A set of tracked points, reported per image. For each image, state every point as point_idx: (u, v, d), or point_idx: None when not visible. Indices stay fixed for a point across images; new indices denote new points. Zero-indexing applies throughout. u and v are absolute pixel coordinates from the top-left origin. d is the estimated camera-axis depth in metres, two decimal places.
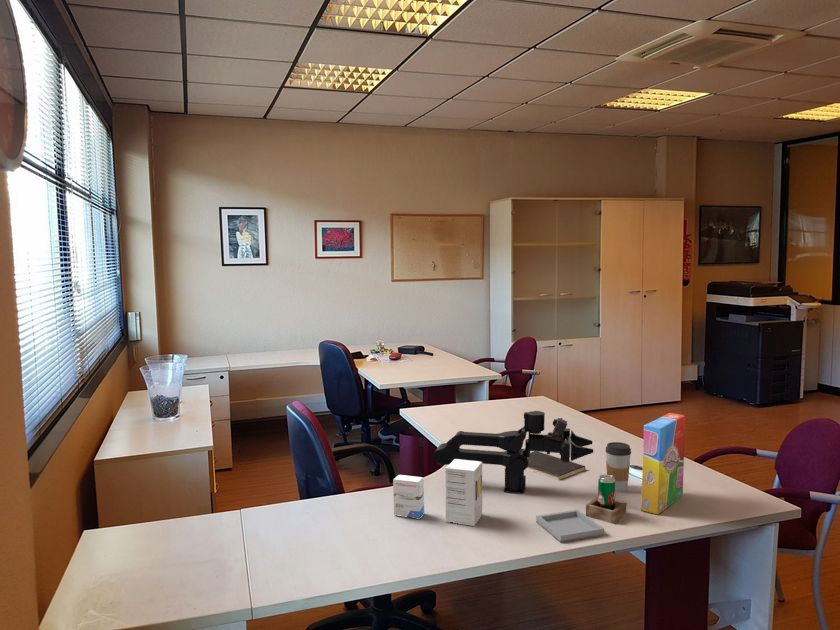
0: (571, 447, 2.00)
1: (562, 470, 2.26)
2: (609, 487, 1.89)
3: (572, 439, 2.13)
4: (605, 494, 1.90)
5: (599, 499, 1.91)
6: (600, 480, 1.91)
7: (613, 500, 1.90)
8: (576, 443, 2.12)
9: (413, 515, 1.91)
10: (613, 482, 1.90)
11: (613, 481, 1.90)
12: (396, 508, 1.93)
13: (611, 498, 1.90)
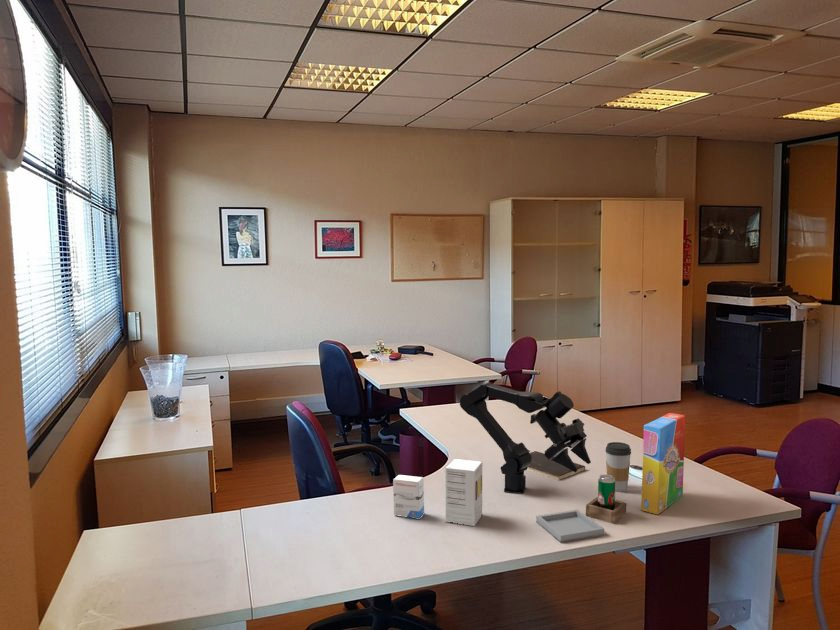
0: (560, 452, 1.92)
1: (561, 471, 2.26)
2: (609, 487, 1.89)
3: (578, 445, 2.02)
4: (605, 494, 1.90)
5: (599, 499, 1.91)
6: (600, 480, 1.91)
7: (613, 500, 1.90)
8: (577, 451, 2.02)
9: (413, 515, 1.91)
10: (613, 482, 1.90)
11: (613, 481, 1.90)
12: (396, 508, 1.93)
13: (611, 498, 1.90)
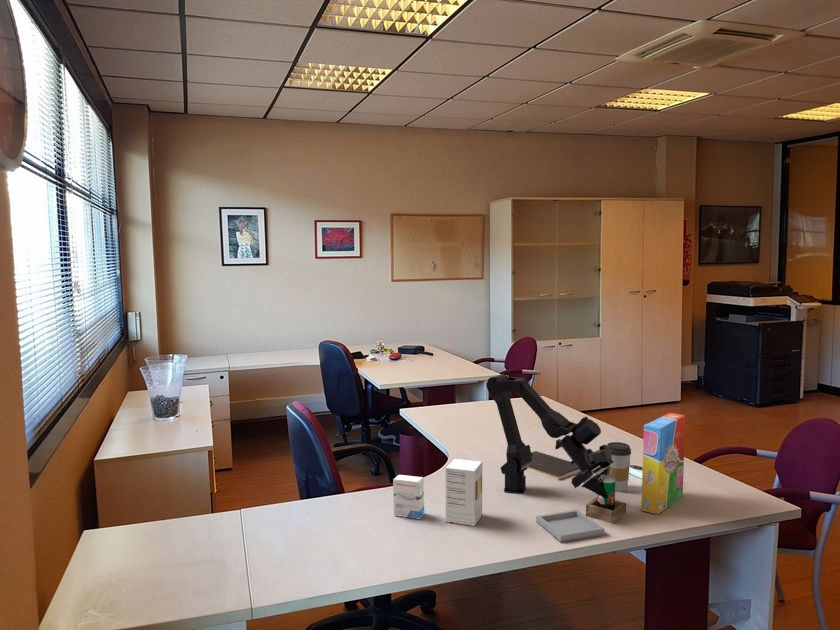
0: (591, 478, 1.88)
1: (561, 471, 2.26)
2: (609, 486, 1.89)
3: (602, 473, 1.96)
4: None
5: (599, 499, 1.91)
6: (600, 480, 1.91)
7: (613, 500, 1.90)
8: None
9: (413, 515, 1.91)
10: (613, 482, 1.90)
11: (613, 481, 1.90)
12: (396, 508, 1.93)
13: (611, 498, 1.90)
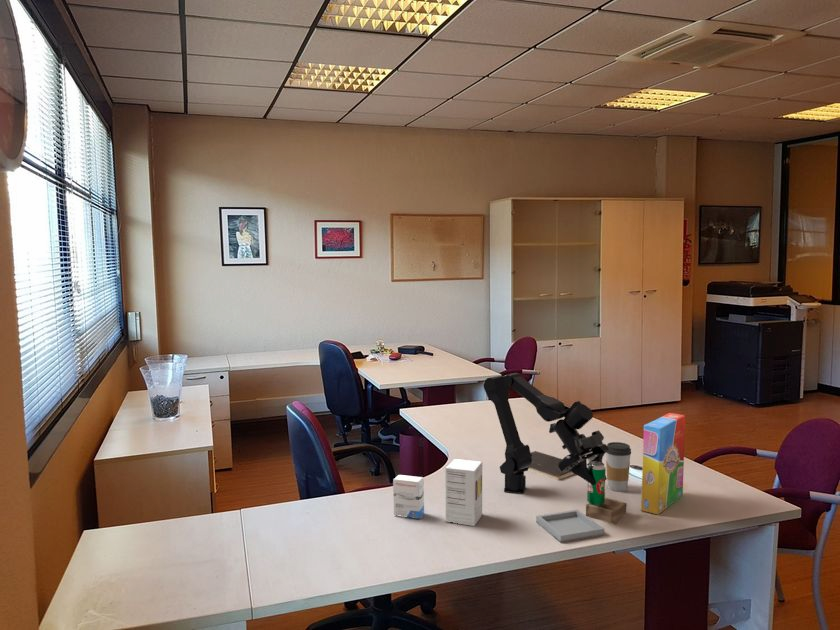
0: (577, 463, 1.85)
1: None
2: (597, 473, 1.85)
3: (594, 460, 1.91)
4: None
5: (588, 486, 1.87)
6: (589, 466, 1.87)
7: (602, 488, 1.85)
8: None
9: (413, 515, 1.91)
10: (602, 469, 1.85)
11: (602, 468, 1.85)
12: (396, 508, 1.93)
13: (599, 485, 1.85)
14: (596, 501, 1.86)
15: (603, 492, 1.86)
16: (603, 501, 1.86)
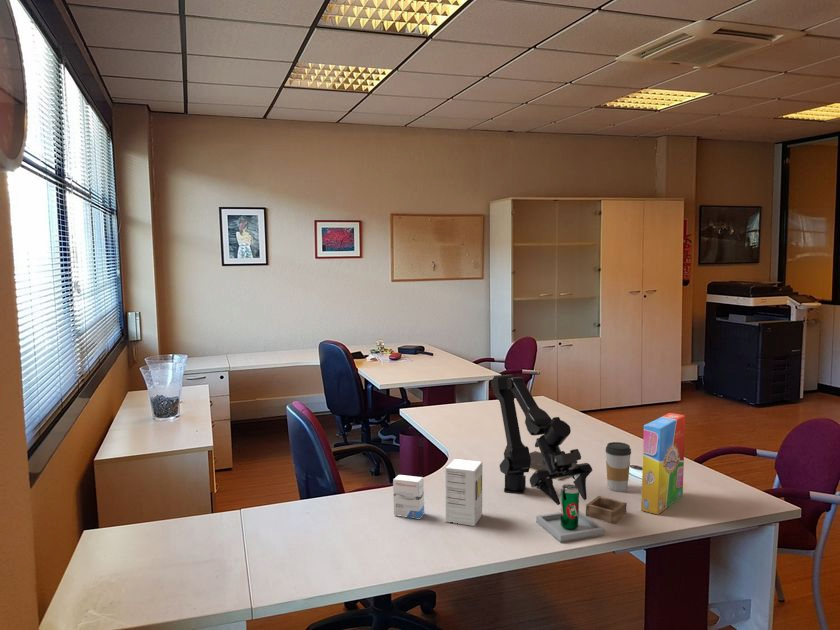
0: (542, 481, 1.81)
1: None
2: (566, 497, 1.80)
3: (578, 478, 1.87)
4: (563, 504, 1.81)
5: None
6: (561, 489, 1.83)
7: (572, 512, 1.81)
8: (578, 484, 1.87)
9: (413, 515, 1.91)
10: (572, 493, 1.80)
11: (573, 492, 1.80)
12: (396, 508, 1.93)
13: (569, 509, 1.81)
14: (566, 525, 1.81)
15: (574, 517, 1.81)
16: (575, 526, 1.81)
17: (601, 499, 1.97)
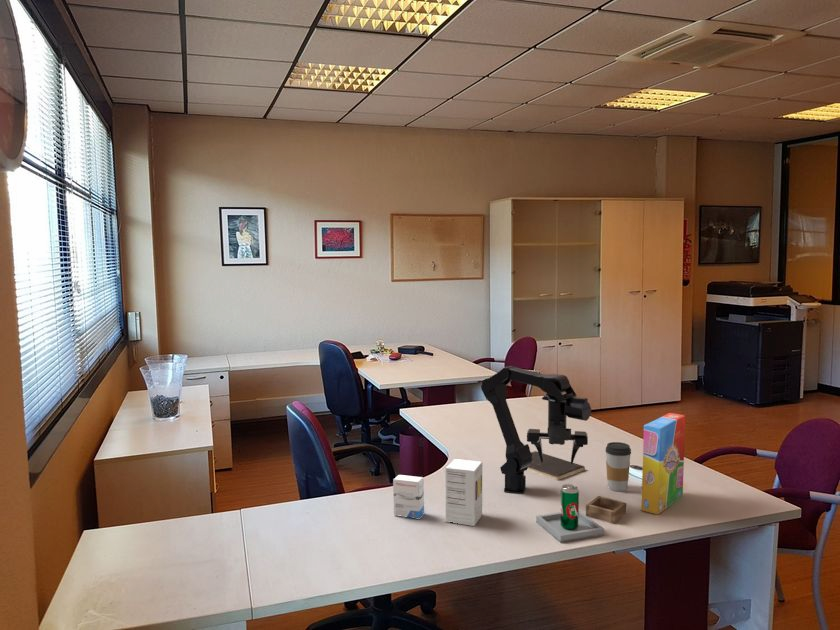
0: (531, 442, 2.01)
1: (561, 471, 2.26)
2: (566, 497, 1.81)
3: (573, 444, 1.99)
4: (563, 504, 1.81)
5: None
6: (561, 489, 1.83)
7: (572, 512, 1.81)
8: None
9: (413, 515, 1.91)
10: (572, 493, 1.80)
11: (572, 492, 1.80)
12: (396, 508, 1.93)
13: (569, 509, 1.81)
14: (566, 525, 1.81)
15: (574, 517, 1.81)
16: (575, 526, 1.81)
17: (601, 499, 1.97)
